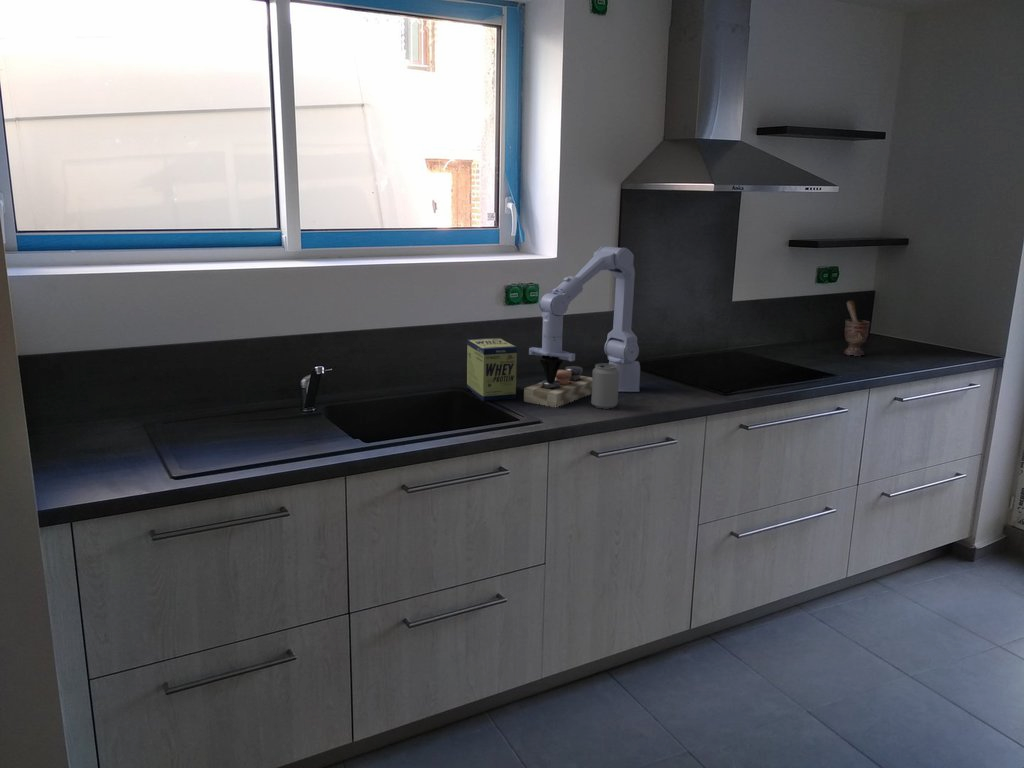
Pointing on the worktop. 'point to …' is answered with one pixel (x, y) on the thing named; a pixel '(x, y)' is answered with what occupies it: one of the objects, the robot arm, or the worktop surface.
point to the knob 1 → (550, 385)
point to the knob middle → (563, 377)
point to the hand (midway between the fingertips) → (550, 382)
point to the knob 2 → (574, 373)
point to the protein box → (491, 368)
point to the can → (605, 386)
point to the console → (558, 393)
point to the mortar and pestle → (855, 332)
